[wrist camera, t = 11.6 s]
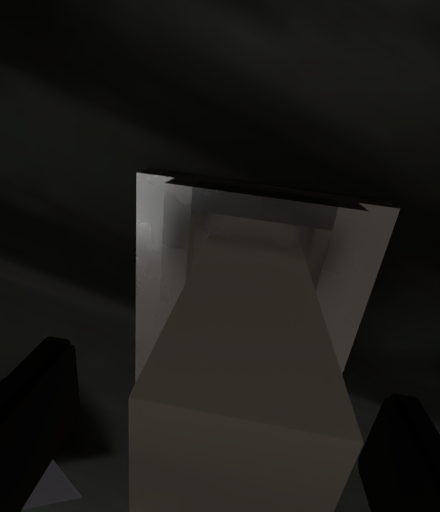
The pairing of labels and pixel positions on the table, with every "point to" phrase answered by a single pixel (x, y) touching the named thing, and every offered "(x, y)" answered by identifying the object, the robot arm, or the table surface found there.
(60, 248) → the table surface
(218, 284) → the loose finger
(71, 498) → the wedge on round base
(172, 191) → the rail
